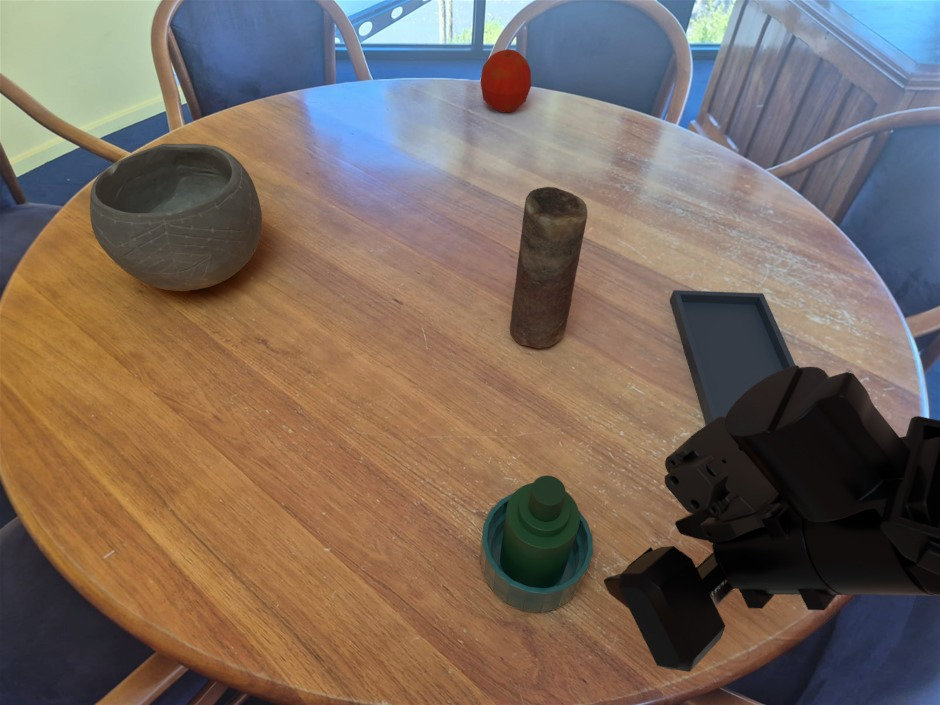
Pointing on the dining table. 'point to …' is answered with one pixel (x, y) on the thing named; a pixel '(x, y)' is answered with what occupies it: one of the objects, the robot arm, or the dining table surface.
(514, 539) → the bottle
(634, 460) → the dining table surface
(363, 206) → the dining table surface
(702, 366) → the tray
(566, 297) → the brown textured cylinder
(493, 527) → the glazed bowl
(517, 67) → the apple
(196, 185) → the bowl
